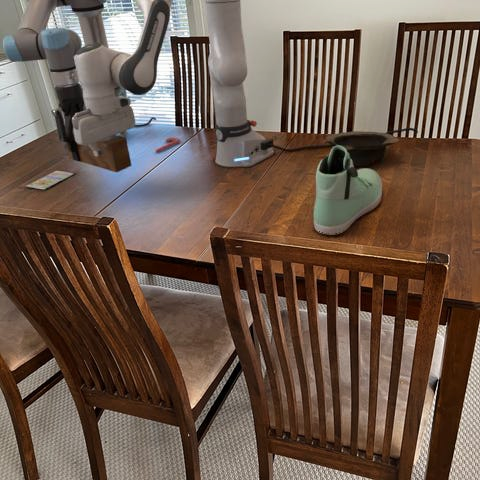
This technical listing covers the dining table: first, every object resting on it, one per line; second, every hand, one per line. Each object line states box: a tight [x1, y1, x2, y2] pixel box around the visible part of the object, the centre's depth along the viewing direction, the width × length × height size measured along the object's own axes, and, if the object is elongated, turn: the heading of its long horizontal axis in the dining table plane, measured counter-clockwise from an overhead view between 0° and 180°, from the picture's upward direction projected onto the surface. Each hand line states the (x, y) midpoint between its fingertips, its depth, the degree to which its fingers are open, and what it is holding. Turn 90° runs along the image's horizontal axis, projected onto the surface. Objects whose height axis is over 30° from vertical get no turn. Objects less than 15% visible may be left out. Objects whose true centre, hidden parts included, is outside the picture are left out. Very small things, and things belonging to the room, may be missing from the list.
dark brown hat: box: [324, 130, 399, 167], centre depth 168 cm, size 25×25×9 cm
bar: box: [65, 128, 132, 173], centre depth 150 cm, size 23×6×9 cm, turn 53°
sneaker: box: [313, 146, 383, 236], centre depth 133 cm, size 14×35×20 cm, turn 152°
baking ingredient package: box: [26, 170, 75, 190], centre depth 172 cm, size 9×1×15 cm
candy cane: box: [155, 136, 180, 153], centre depth 194 cm, size 6×15×2 cm, turn 145°
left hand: (85, 156), depth 156 cm, fingers closed on bar, 6 cm apart
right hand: (110, 150), depth 146 cm, fingers open, 8 cm apart
